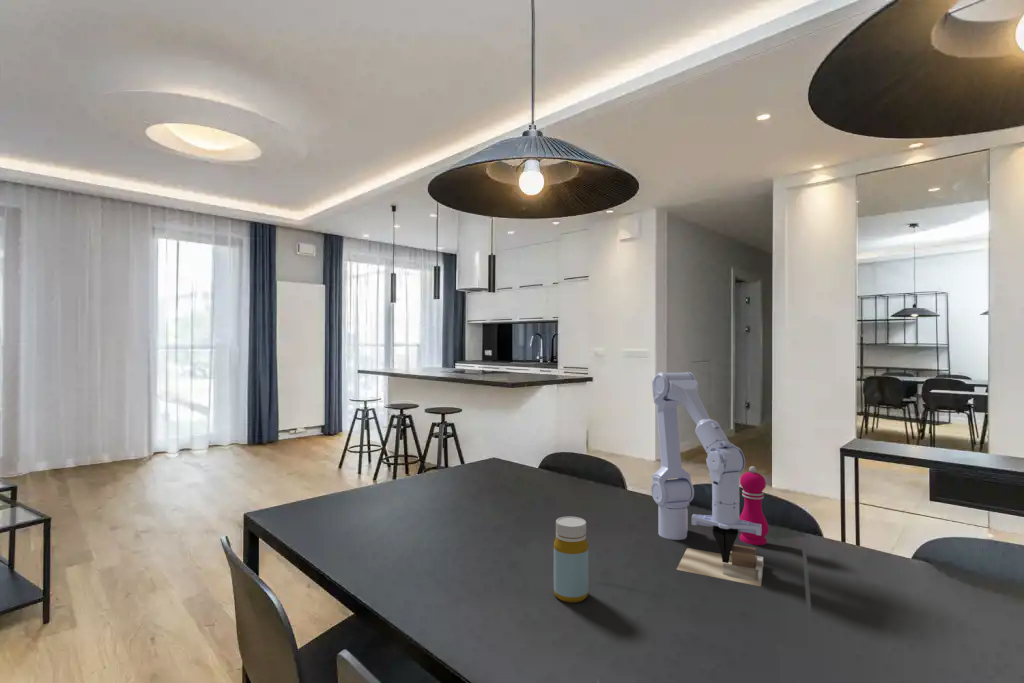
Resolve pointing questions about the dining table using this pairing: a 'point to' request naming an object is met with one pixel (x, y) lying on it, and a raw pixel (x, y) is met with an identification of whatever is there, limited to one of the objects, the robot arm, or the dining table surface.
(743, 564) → the block
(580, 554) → the bottle
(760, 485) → the pepper mill
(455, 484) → the dining table surface
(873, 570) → the dining table surface
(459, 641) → the dining table surface
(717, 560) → the board
